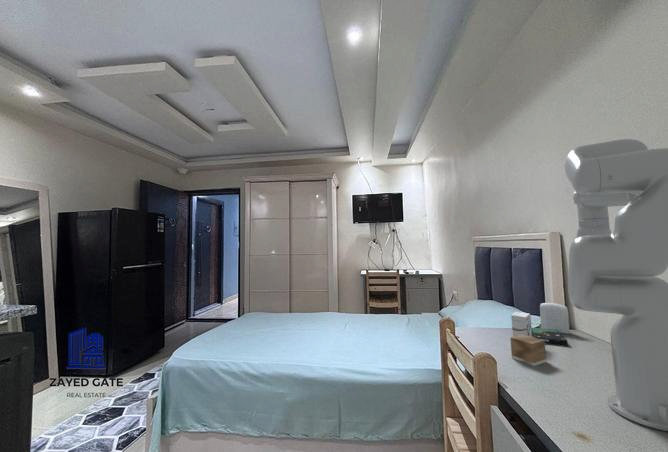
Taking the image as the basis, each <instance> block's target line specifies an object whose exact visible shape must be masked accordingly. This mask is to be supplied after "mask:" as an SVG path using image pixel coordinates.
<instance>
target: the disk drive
mask: <svg viewBox="0 0 668 452" xmlns="http://www.w3.org/2000/svg"><path fill="white" fill-rule="evenodd" d="M531 330H532V336H533V337H534V338H538V339H541V340H545V345H547V344H548V345H554V346H563V347H569V343H568V340H567V338H566V337H565V336H564V335H563V333H560V332H559V331H558V330H551V329H541V328H538V327H537V328H536V327H531Z"/></svg>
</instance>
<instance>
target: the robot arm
mask: <svg viewBox="0 0 668 452" xmlns="http://www.w3.org/2000/svg"><path fill="white" fill-rule="evenodd" d="M564 170H565V174H566V177H567V178H568V181H569V183H570V185H572V187H573V189H574V192H573V197H572V200H573V203H574V205H576V206H577V208H576V209H577V219H578V229H577V232H576V238H574V239H573V241H572V242H571V244H570V246H569V250H568V251H569V253H568V273H567V274H568V276H567V277H568V280H567V281H568V282H567V289H568V290H567V291H568V297H569V301H570V303H571V304H572V305H573V307H575V308H576V309H578V310H579V311H580V310H581V311H583V312H584V311H586V312H591V313H592V312H594V313H604V314H613V315H614V314H616V315H622V316H620V317H619V319H617V320H616V321H615V322H614V323H613V325H612V326H611V328H610V343H611V346H610V347H611V352H612V353H611V355H612V364H613V372H614V373H613V376H614V386H615V394H614V395H610V396H609V397H608V398H607V404H608V406H609V408H611V410H613V411H614V412H615V413H617V414H618V415H620V416H622V417H624V418H625V419H628V420H630V421H632V422H635V423H636V424H640V425H643V426H645V427H649V428H652V429H656V430H658V431H659V430H660V431H664V432H668V282H667V281H666V280H664V279H662V278H661V277H657V276H661V275H662V274H664V273H665V272H666V270H667V269H668V147H665V148H664V147H663V148H662V147H661V148H651V149H649V148H648V146H647V145H646V144H645V143H644V142H642V141H640V140H638V139H631V138H625V139H624V138H623V139H615V140H610V141H604V142H596V143H592V144H591V143H590V144H585V145H580V146H577V147H575V148H573V149H572V150H570V152H568V154H567V156H566V158H565V163H564ZM621 206H622V208H621V209H620V210H619V211H618V212H617V214H616V215H615V217H614V229H613V232H612V231H611V227H610V219H609V217H610V216H609V207H621Z"/></svg>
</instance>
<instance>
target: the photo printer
mask: <svg viewBox="0 0 668 452" xmlns="http://www.w3.org/2000/svg"><path fill="white" fill-rule="evenodd" d="M539 314H540V315H539V318H540V329H551V330H558V331H559V332H560V333H561V334H565V335H569V334H570V319H569V310H568V306H565V305H563V304H560V303H555V302H542V303H540V305H539Z"/></svg>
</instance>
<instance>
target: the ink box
mask: <svg viewBox="0 0 668 452" xmlns="http://www.w3.org/2000/svg"><path fill="white" fill-rule="evenodd" d="M510 317H511V330H512V337H515V336H519V335H526V336H530V337H532V330H531V328H532V320H531V319H532V318H531V313H527V312H524V311H523V312H522V311H515V312H513V313H512V314H511V316H510Z"/></svg>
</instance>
